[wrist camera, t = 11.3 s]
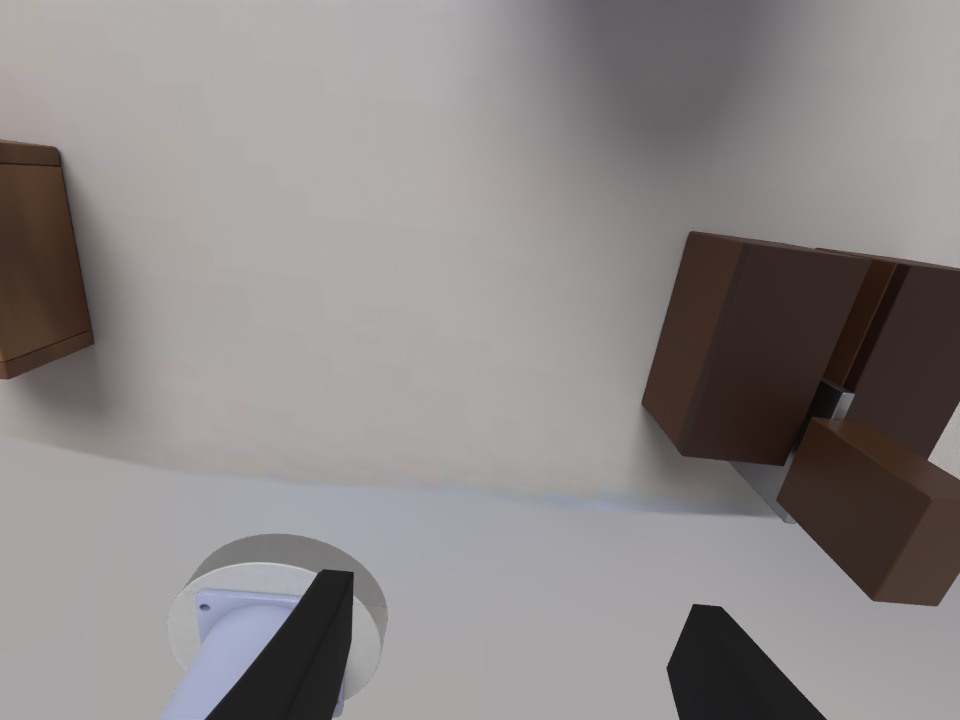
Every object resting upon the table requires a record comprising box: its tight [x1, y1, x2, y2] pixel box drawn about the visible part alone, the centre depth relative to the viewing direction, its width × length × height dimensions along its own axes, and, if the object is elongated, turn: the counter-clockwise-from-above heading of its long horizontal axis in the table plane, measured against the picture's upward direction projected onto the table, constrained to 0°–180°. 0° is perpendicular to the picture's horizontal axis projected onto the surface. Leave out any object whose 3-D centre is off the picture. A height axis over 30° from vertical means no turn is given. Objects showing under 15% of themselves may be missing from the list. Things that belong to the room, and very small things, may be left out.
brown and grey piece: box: [728, 376, 960, 606], centre depth 15 cm, size 5×2×8 cm, turn 173°
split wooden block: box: [642, 231, 960, 466], centre depth 16 cm, size 7×8×4 cm
